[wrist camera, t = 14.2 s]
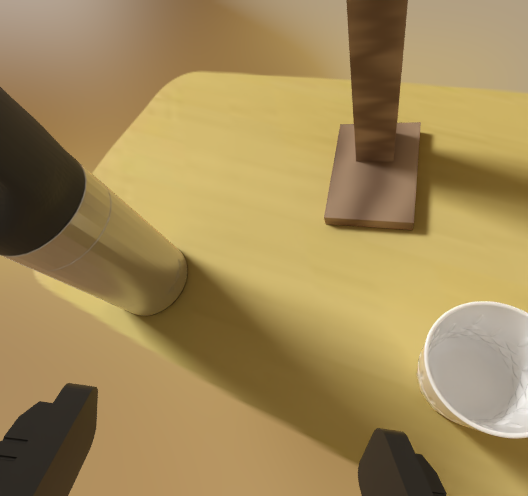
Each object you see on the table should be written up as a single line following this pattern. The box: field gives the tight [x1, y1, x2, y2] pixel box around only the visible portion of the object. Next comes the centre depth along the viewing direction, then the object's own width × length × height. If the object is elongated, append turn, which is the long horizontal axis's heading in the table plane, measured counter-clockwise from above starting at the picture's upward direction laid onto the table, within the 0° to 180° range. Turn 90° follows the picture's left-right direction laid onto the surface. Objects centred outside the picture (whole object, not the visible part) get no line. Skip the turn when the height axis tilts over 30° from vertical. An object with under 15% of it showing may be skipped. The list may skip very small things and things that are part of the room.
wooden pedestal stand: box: [324, 0, 421, 230], centre depth 25 cm, size 9×13×35 cm
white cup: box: [417, 301, 528, 438], centre depth 26 cm, size 8×8×10 cm
